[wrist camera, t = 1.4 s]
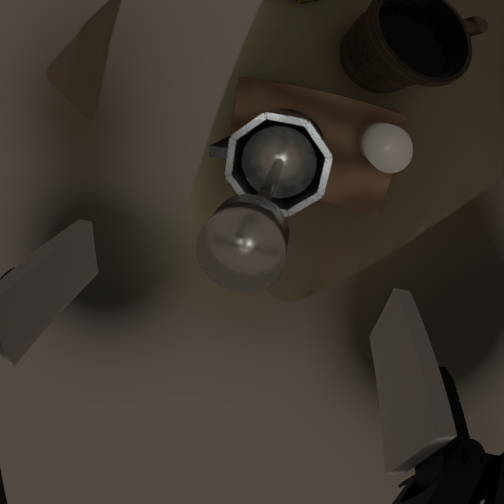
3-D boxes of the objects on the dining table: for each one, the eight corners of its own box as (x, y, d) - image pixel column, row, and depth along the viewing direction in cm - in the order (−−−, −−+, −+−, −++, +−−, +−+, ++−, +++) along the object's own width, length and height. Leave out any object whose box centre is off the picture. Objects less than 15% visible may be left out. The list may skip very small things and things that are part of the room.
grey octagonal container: (239, 100, 37) (211, 101, 26) (331, 118, 36) (343, 125, 25) (229, 173, 43) (200, 202, 32) (315, 190, 42) (319, 227, 31)
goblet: (248, 119, 29) (160, 154, 11) (322, 134, 28) (352, 190, 11) (238, 188, 33) (160, 301, 15) (307, 202, 32) (304, 335, 15)
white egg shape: (361, 115, 35) (372, 118, 29) (400, 127, 35) (417, 133, 29) (352, 155, 38) (361, 165, 32) (390, 166, 38) (405, 178, 32)
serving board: (241, 78, 37) (239, 77, 36) (403, 115, 35) (406, 115, 34) (227, 179, 45) (224, 182, 44) (376, 212, 43) (379, 216, 42)
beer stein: (364, 108, 36) (424, 109, 18) (319, 48, 33) (345, -1, 15) (438, 66, 30) (521, 53, 13) (398, 8, 27) (460, -40, 10)
